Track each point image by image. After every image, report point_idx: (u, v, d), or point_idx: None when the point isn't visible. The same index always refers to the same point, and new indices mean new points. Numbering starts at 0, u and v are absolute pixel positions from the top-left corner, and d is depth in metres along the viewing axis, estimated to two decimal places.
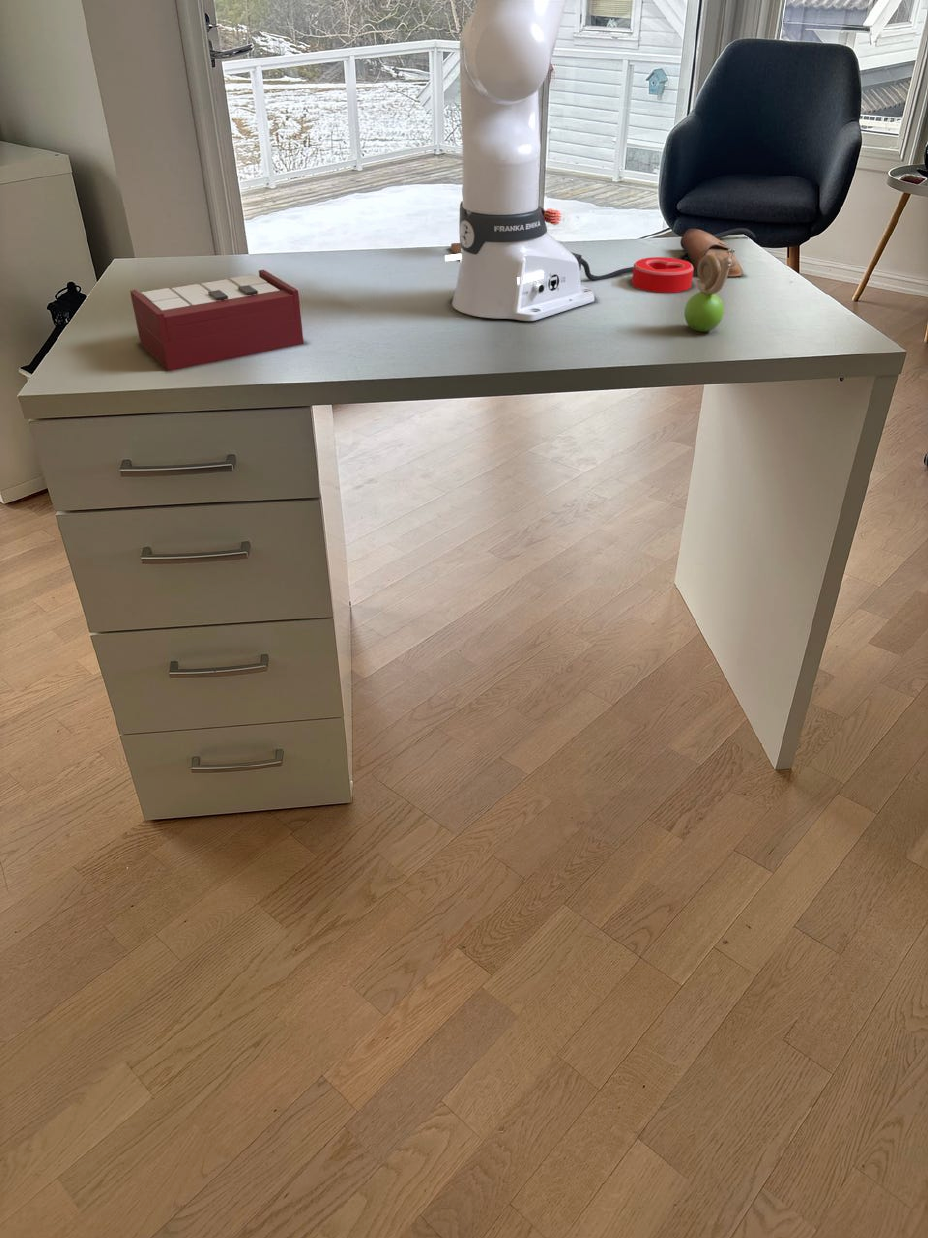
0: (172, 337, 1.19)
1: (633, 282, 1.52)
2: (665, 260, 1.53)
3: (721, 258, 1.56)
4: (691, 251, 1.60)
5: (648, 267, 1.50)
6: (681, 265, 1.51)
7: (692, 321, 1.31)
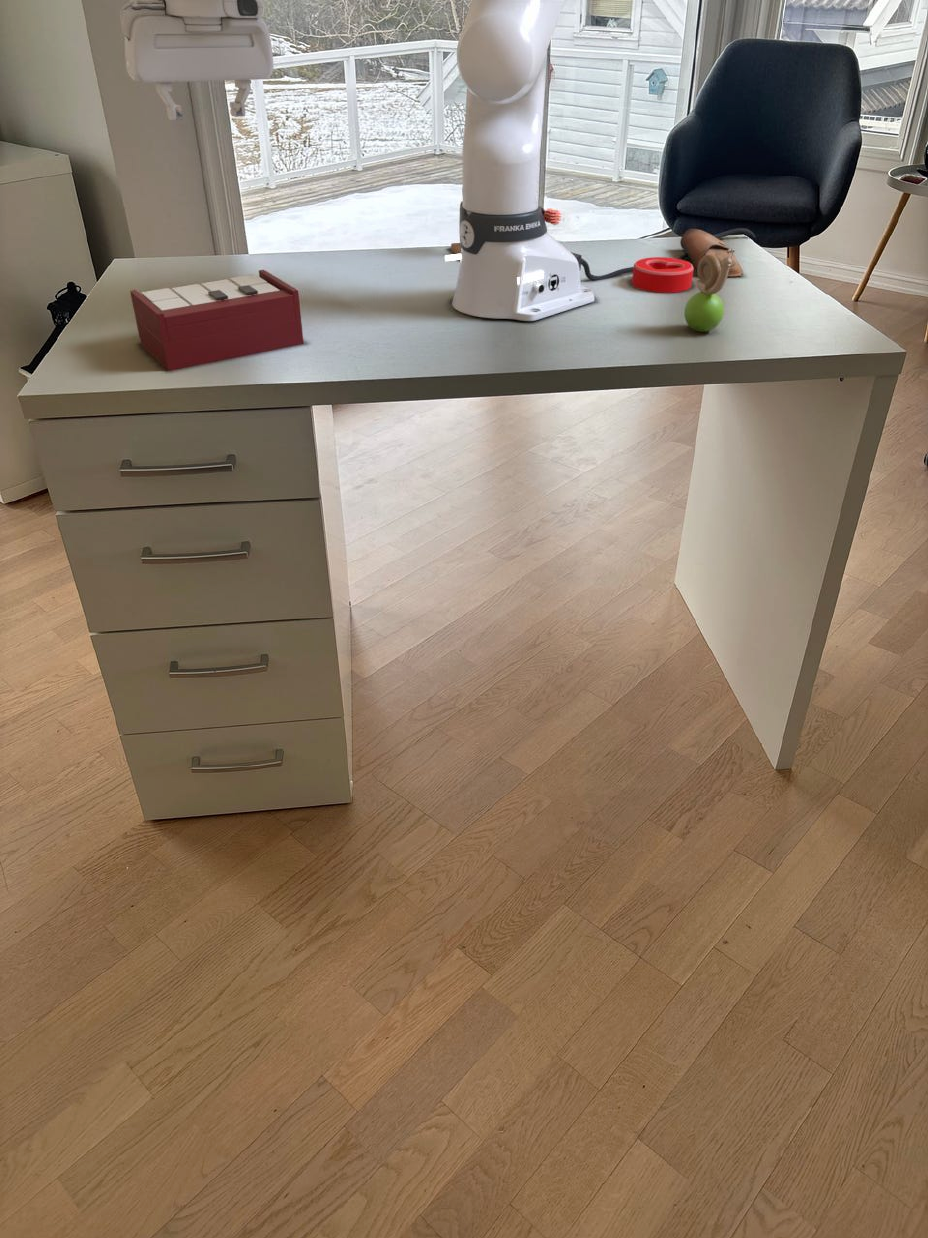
0: (172, 337, 1.19)
1: (633, 282, 1.52)
2: (665, 260, 1.53)
3: (721, 258, 1.56)
4: (691, 251, 1.60)
5: (648, 267, 1.50)
6: (681, 265, 1.51)
7: (692, 321, 1.31)
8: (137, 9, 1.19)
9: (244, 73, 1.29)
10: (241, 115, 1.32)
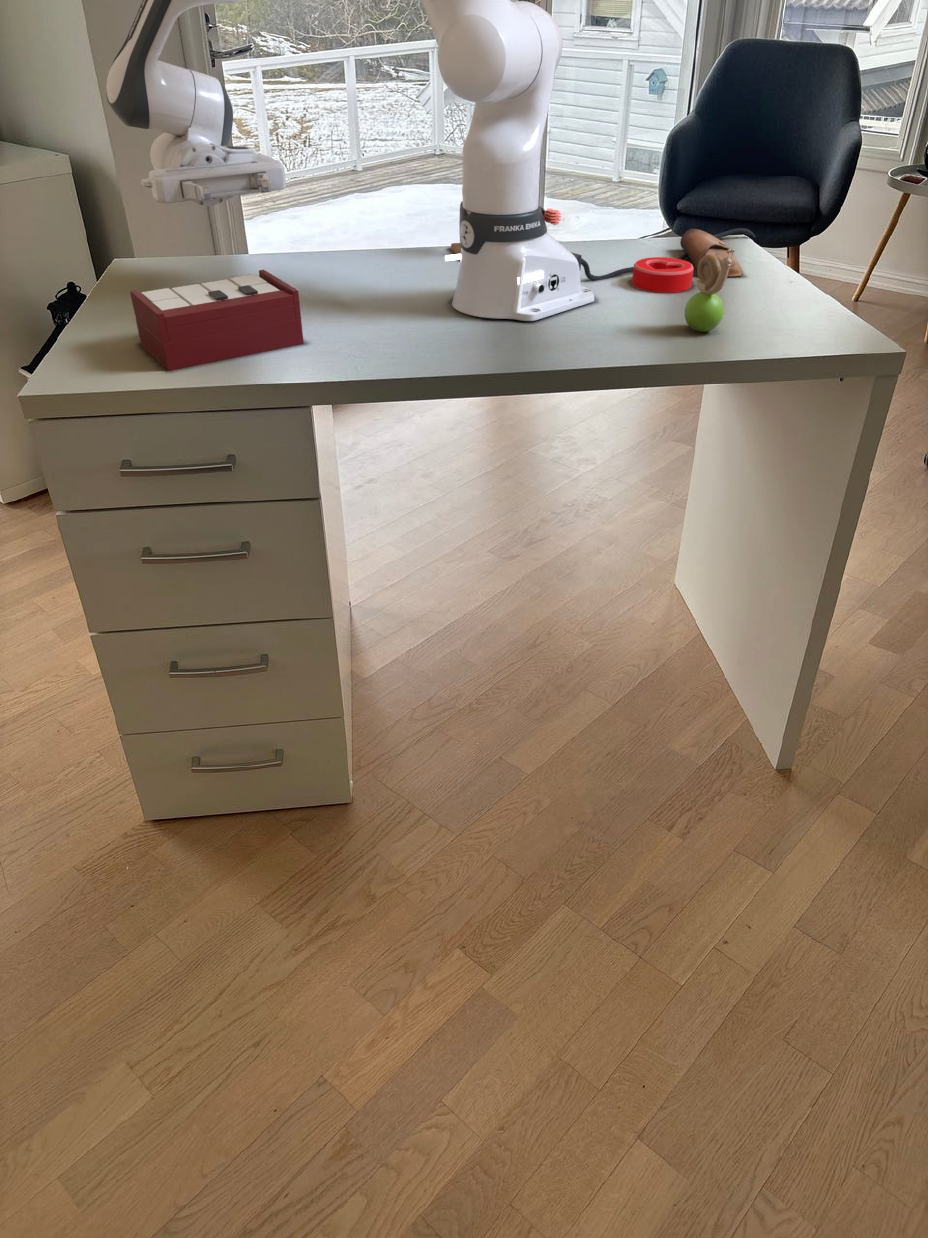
0: (172, 337, 1.19)
1: (633, 282, 1.52)
2: (665, 260, 1.53)
3: (721, 258, 1.56)
4: (691, 251, 1.60)
5: (648, 267, 1.50)
6: (681, 265, 1.51)
7: (692, 321, 1.31)
8: None
9: (255, 166, 1.41)
10: (266, 180, 1.38)
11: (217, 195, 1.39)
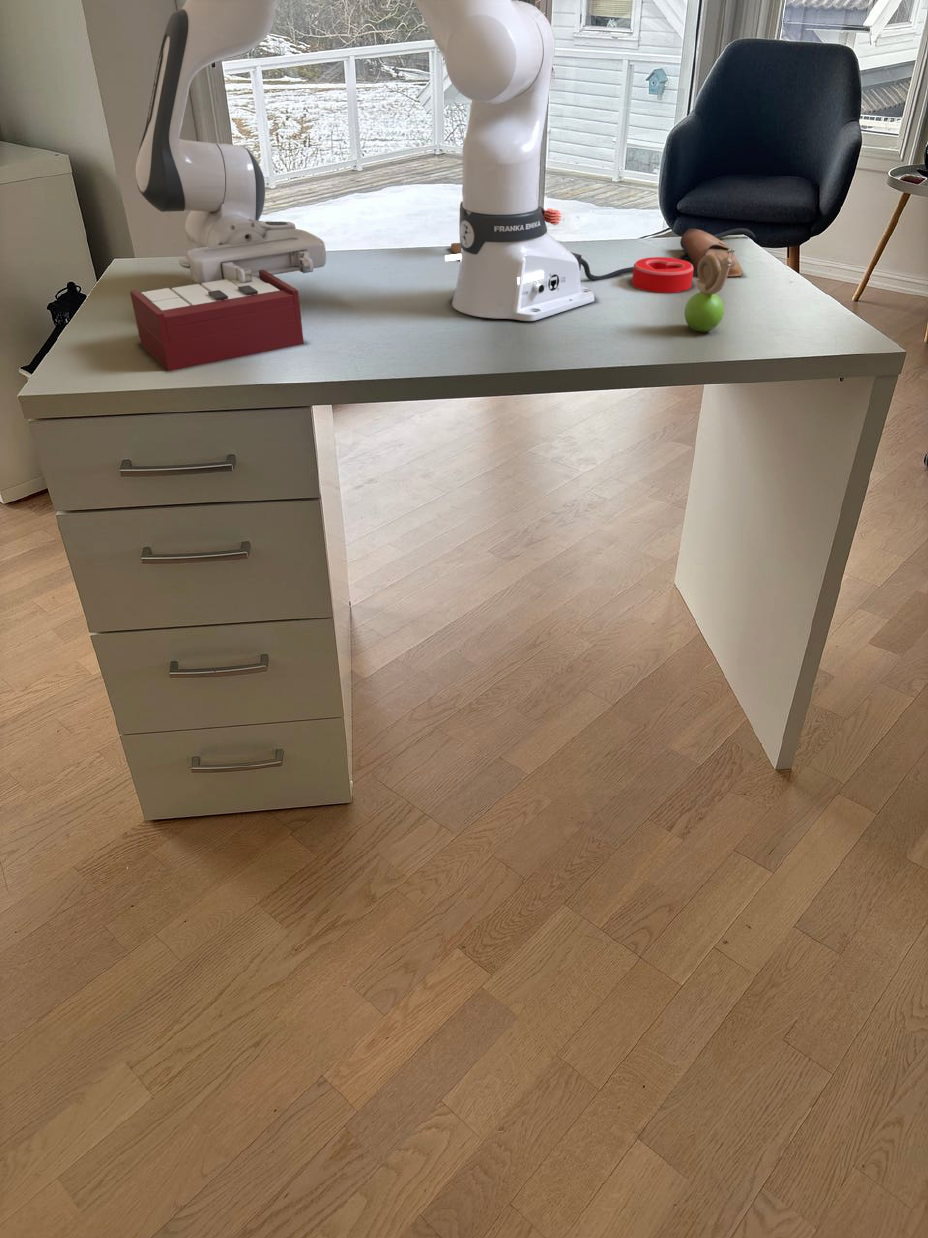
0: (172, 337, 1.19)
1: (633, 282, 1.52)
2: (665, 260, 1.53)
3: (721, 258, 1.56)
4: (691, 251, 1.60)
5: (648, 267, 1.50)
6: (681, 265, 1.51)
7: (692, 321, 1.31)
8: None
9: (295, 244, 1.37)
10: (308, 260, 1.34)
11: (257, 275, 1.35)
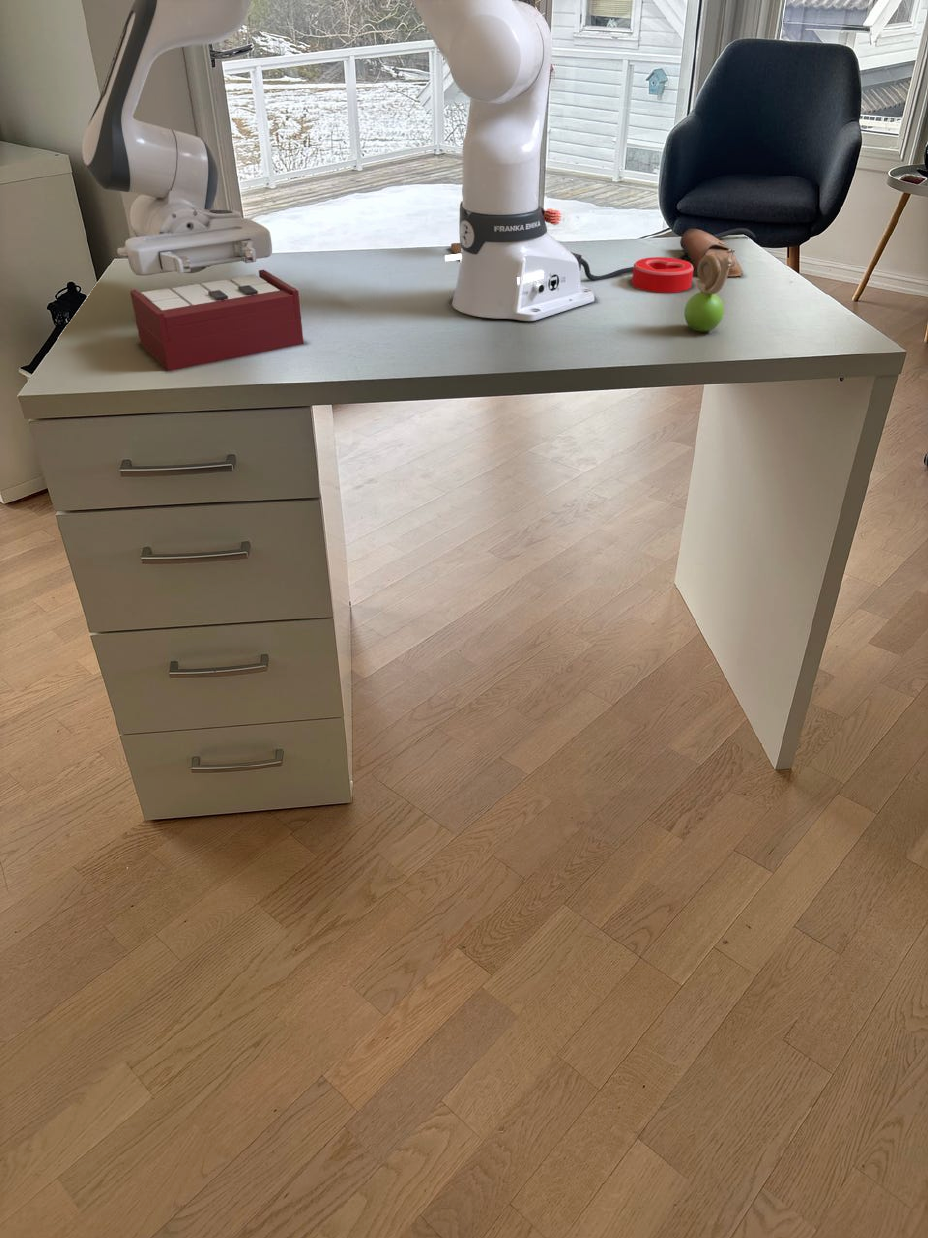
0: (172, 337, 1.19)
1: (633, 282, 1.52)
2: (665, 260, 1.53)
3: (721, 258, 1.56)
4: (691, 251, 1.60)
5: (648, 267, 1.50)
6: (681, 265, 1.51)
7: (692, 321, 1.31)
8: None
9: (239, 233, 1.32)
10: (250, 250, 1.29)
11: (198, 265, 1.30)
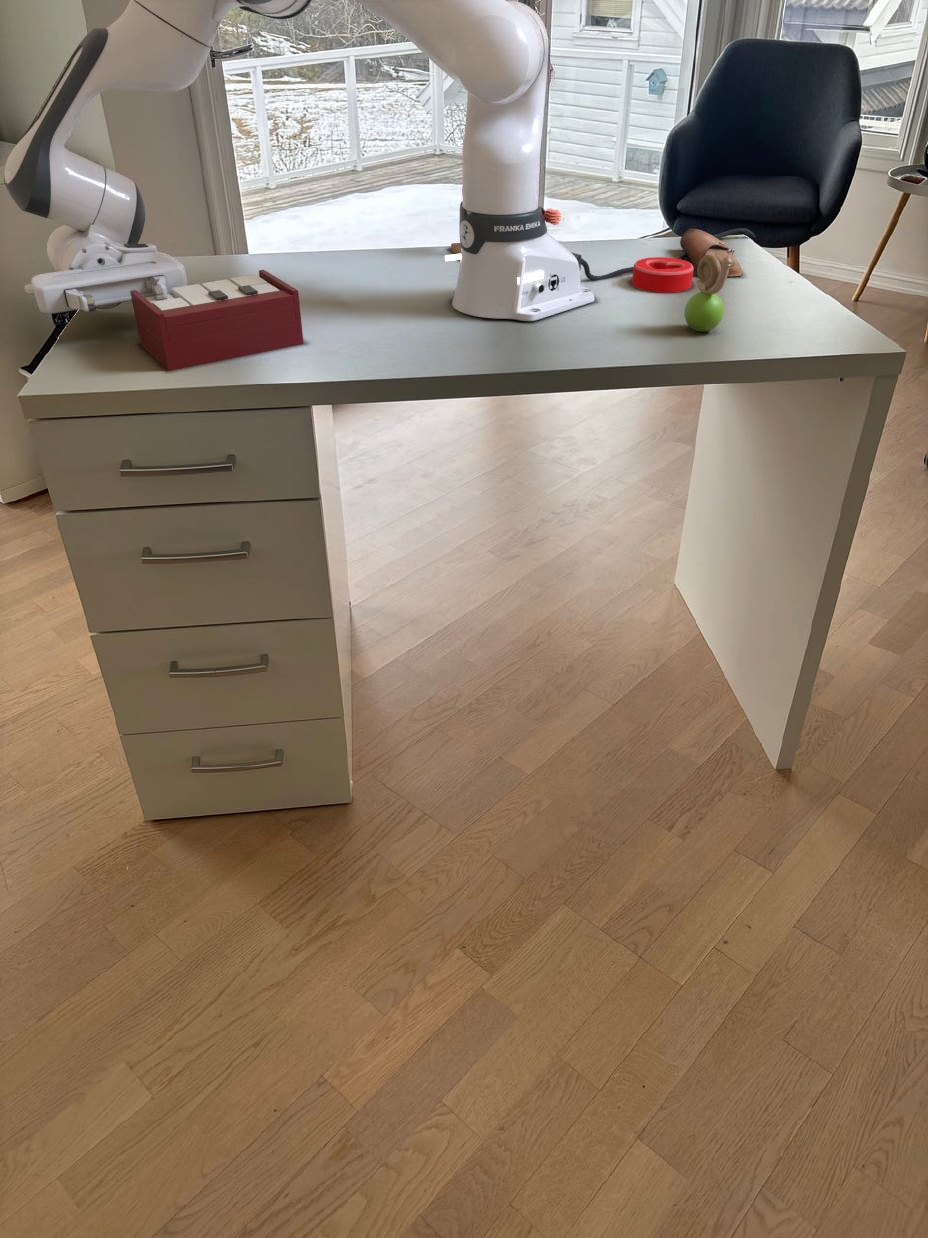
0: (172, 337, 1.19)
1: (633, 282, 1.52)
2: (665, 260, 1.53)
3: (721, 258, 1.56)
4: (691, 251, 1.60)
5: (648, 267, 1.50)
6: (681, 265, 1.51)
7: (692, 321, 1.31)
8: None
9: (151, 269, 1.28)
10: (161, 287, 1.25)
11: (108, 302, 1.26)
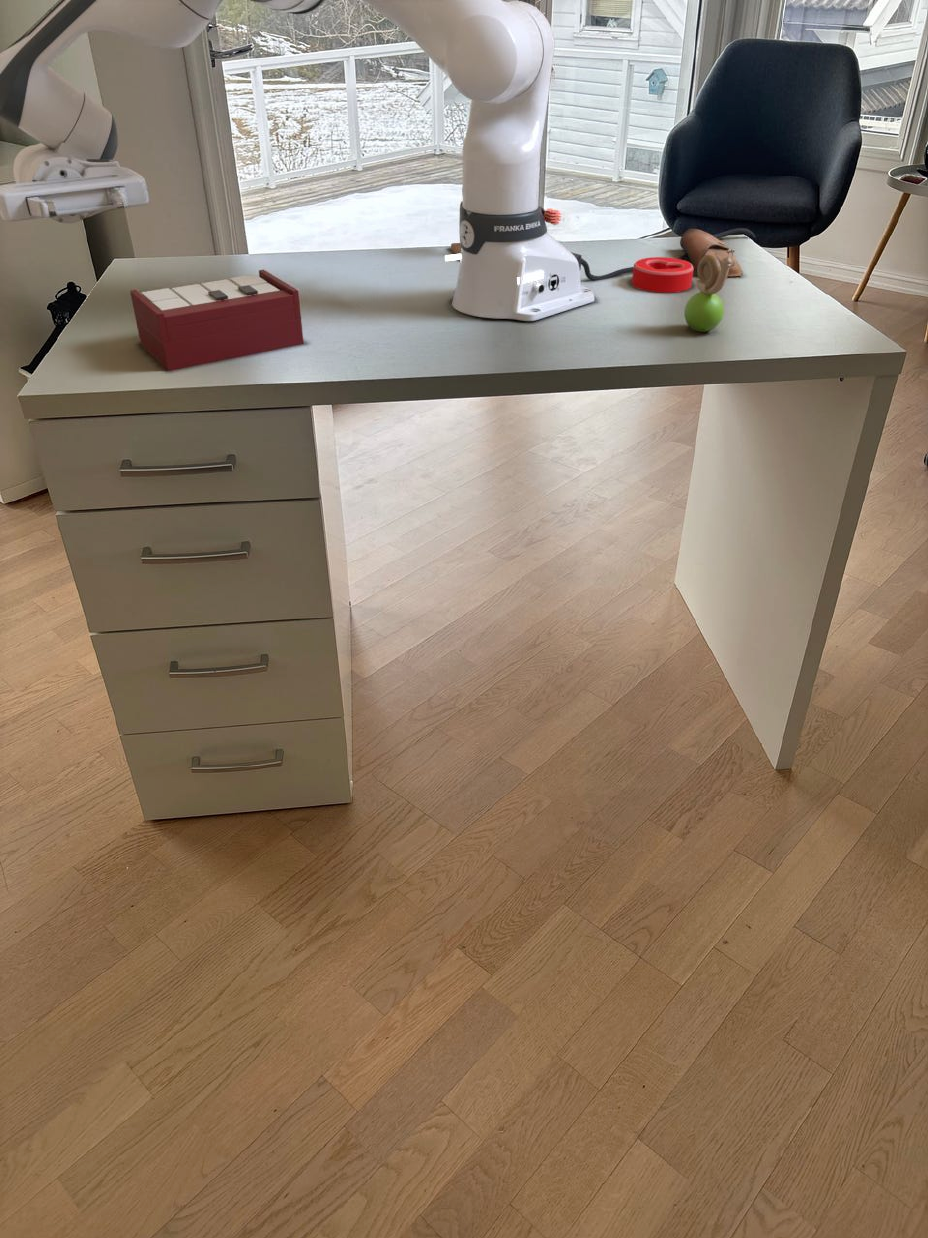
0: (172, 337, 1.19)
1: (633, 282, 1.52)
2: (665, 260, 1.53)
3: (721, 258, 1.56)
4: (691, 251, 1.60)
5: (648, 267, 1.50)
6: (681, 265, 1.51)
7: (692, 321, 1.31)
8: None
9: (111, 180, 1.31)
10: (120, 195, 1.28)
11: (69, 212, 1.30)
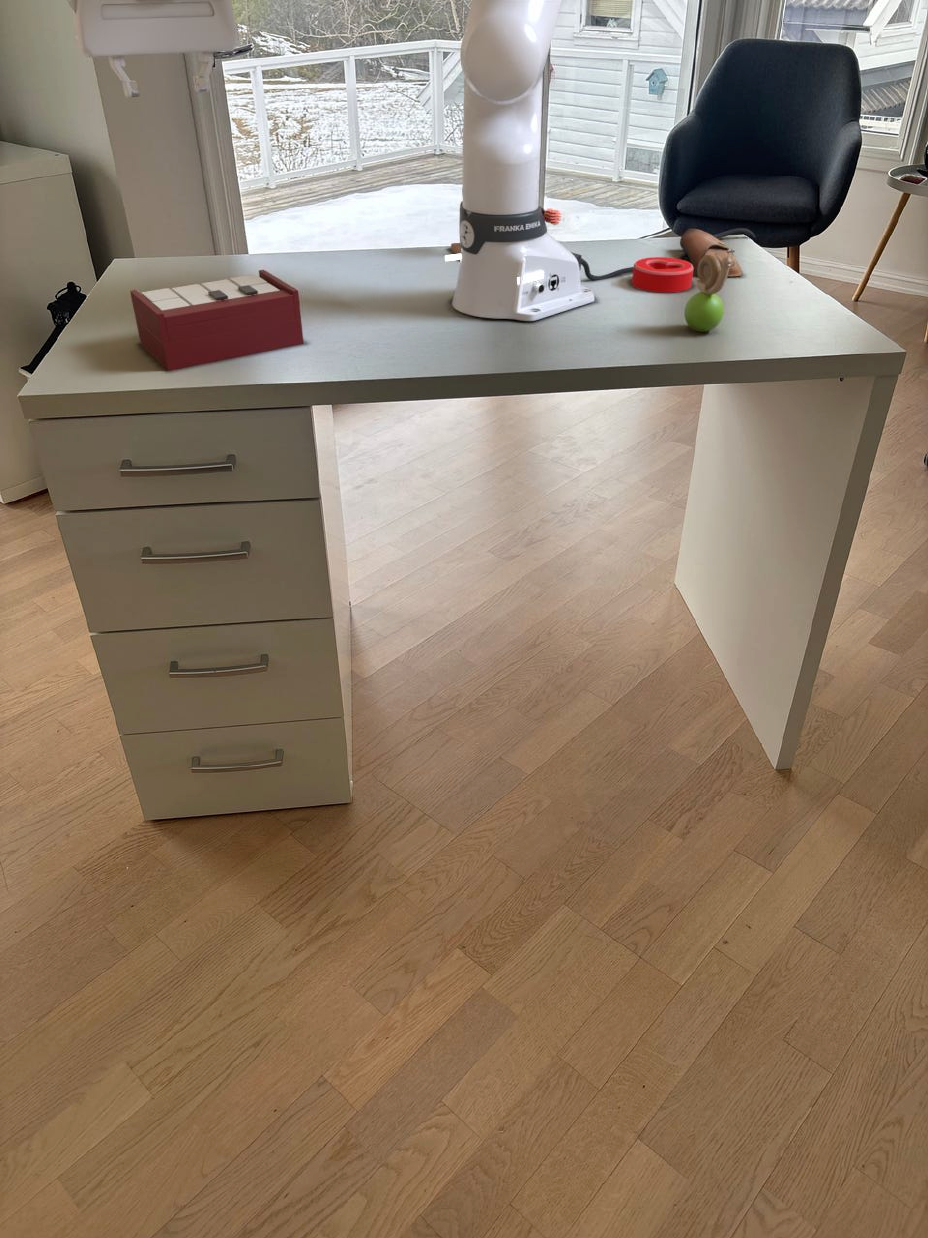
0: (172, 337, 1.19)
1: (633, 282, 1.52)
2: (665, 260, 1.53)
3: (721, 258, 1.56)
4: (691, 251, 1.60)
5: (648, 267, 1.50)
6: (681, 265, 1.51)
7: (692, 321, 1.31)
8: None
9: (204, 45, 1.21)
10: (205, 90, 1.24)
11: None
